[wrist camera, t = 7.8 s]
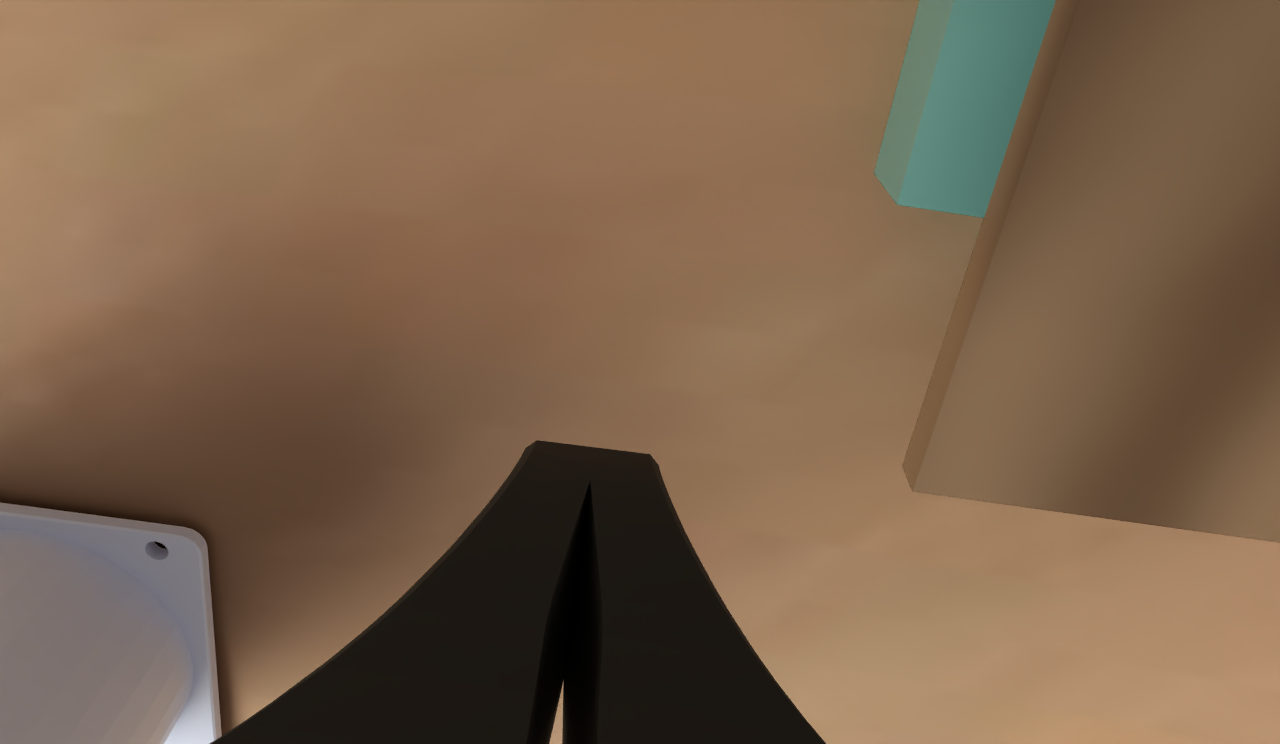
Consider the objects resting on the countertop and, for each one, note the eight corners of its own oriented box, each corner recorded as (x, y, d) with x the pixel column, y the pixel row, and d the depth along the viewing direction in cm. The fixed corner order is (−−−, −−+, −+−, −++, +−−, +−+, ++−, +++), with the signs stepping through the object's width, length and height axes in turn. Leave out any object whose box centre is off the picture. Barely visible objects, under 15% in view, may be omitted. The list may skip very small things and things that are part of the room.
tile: (869, 167, 18) (896, 204, 16) (981, -262, 15) (1034, -286, 13) (1362, 242, 19) (1452, 288, 17) (1571, -158, 16) (1715, -164, 14)
